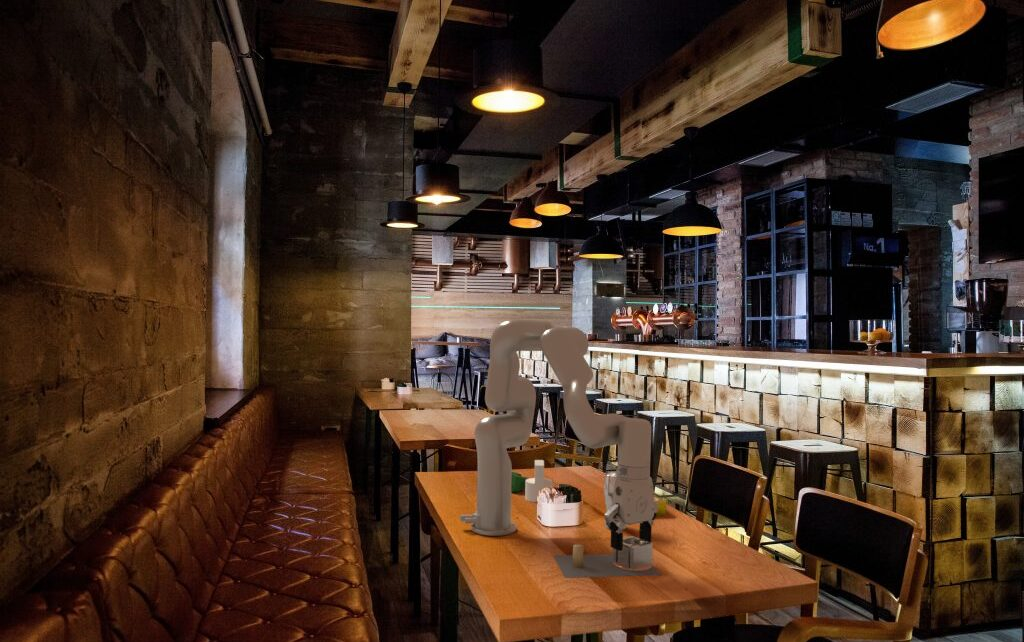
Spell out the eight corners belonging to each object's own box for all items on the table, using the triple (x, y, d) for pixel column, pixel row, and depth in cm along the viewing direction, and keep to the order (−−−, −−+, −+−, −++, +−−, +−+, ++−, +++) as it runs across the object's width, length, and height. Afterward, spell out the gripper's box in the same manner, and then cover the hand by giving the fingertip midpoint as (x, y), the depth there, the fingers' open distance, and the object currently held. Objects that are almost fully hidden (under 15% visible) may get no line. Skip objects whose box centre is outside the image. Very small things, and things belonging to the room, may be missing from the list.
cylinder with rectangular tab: (525, 495, 217) (525, 459, 218) (551, 495, 217) (552, 460, 217) (525, 502, 208) (525, 465, 209) (552, 502, 208) (553, 465, 208)
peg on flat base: (619, 571, 145) (619, 551, 145) (608, 557, 154) (608, 538, 154) (657, 570, 146) (658, 550, 146) (645, 556, 155) (645, 538, 155)
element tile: (649, 504, 210) (649, 489, 210) (668, 517, 196) (668, 501, 196) (605, 505, 208) (605, 490, 208) (621, 519, 193) (621, 502, 193)
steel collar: (633, 570, 145) (633, 548, 145) (612, 561, 150) (613, 540, 150) (652, 564, 149) (652, 542, 149) (631, 556, 154) (632, 535, 154)
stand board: (564, 584, 141) (565, 556, 141) (553, 561, 154) (553, 536, 155) (661, 581, 143) (662, 554, 143) (641, 559, 157) (641, 534, 157)
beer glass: (627, 531, 179) (628, 477, 179) (602, 529, 180) (603, 476, 181) (628, 524, 186) (629, 472, 186) (604, 522, 187) (605, 471, 187)
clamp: (522, 504, 223) (533, 482, 220) (507, 501, 220) (518, 479, 218) (512, 483, 233) (522, 462, 231) (497, 480, 231) (507, 459, 228)
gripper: (619, 479, 142) (616, 557, 142) (670, 471, 152) (667, 543, 152) (595, 472, 148) (593, 547, 148) (646, 464, 158) (643, 534, 158)
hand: (631, 545), depth 150 cm, fingers open, 9 cm apart
